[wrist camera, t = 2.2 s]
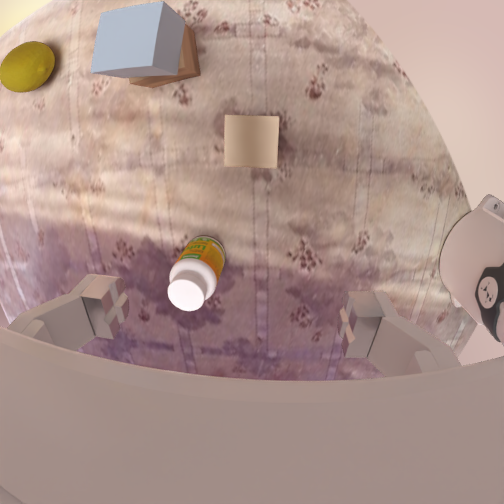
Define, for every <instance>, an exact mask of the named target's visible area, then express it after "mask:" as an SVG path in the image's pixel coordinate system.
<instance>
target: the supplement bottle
mask: <svg viewBox="0 0 504 504" xmlns="http://www.w3.org/2000/svg"><path fill="white" fill-rule="evenodd" d="M225 257H226V256H225V251H224V248H223V247H222V245H221V244H220V243H219V242H218V241H217V240H215V239H213V238H211V237H208V236H200V237H196V238H194V239H193V240H191V241H190V242H189V243H188V245H187V246H186V248H185V249H184V251H183V252H182V254H181V255H180V257H179V258H178V260H177V261H176V263H175V264H174V266H173V268H172V270H171V272H170V285H169V287H168V296H169V299H170V300H171V302H172V303H173V304H174V305H175V306H176V307H178V308H180V309H182V310H186V311H193V310H197V309H198V308H200V307H201V306H202V304H203V302H204V300H206V299H208V298H209V297H210V296H211V295H212V294H213V292H214V290H215V288H216V286H217V283H218V280H219V277H220V274H221V271H222V268H223V266H224V263H225Z"/></svg>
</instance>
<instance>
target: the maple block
mask: <svg viewBox="0 0 504 504" xmlns="http://www.w3.org/2000/svg"><path fill="white" fill-rule="evenodd" d="M278 135H279V117H277V116H254V115H225V134H224V166H227V167H255V168H274V169H277V155H278Z"/></svg>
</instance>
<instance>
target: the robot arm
mask: <svg viewBox="0 0 504 504" xmlns="http://www.w3.org/2000/svg"><path fill="white" fill-rule="evenodd" d="M494 205H495V206H494ZM439 270H440V277H441V280H442V282H443V284H444V286H445V287H446V288H447V289H448V290H449V292H450V293H451V300H452V303H453V304H454V305H455V306H456V307H463V308H464V309H465V310H466V311H467V312H468V313H469V315H470V316H471V317H472V318H473V319H474V320H475V321H476V322H477V323H478V324H479V325H485V326H486V328H487V330H488V331H489V333H490V334H491V335H492V336H493V337H494V338H495V339H496V340H497V341H498V342H501V343H502V344H503V346H504V203H503V202H502V201H500V200H499V199H497V198H496V197H494V196H492V195H490V194H488V195H487V196H486V197H484V199H483V200H482V201H481V203H480V204H479V205H478V207H477V208H476V209H475V210H473V211H471V212H470V213H468V214H467V215H465V216H464V217H463V218H462V219H461V220H460V221H459V222H458V223H457V224H456V225H455V226H454V228H453V229H452V230H451V232H450V234H449V235H448V237H447V239H446V241H445V244H444V246H443V249H442V252H441V257H440V264H439ZM125 288H126V287H125V283H124V280H123V279H122V278H121V277H113V276H105V275H97V274H88V275H87V276H86V277H85V278H84V279H83V280H82V281H81V282H80V283H79V284H78V285H77V286H76V287H75V288H74V289H73V290H72V291H71V292H70V293H69V294H64V295H62V296H60V297H57V298H55V299H53V300H50V301H48V302H46V303H43V304H41V305H39V306H37V307H34V308H32V309H30V310H28V311H25V312H23V313H21V314H20V315H19V316H18V317H17V318H16V319H15V320H14V321H13V322H12V323H11V324H10V325H9V326H8V327H7V328H4V327H1V326H0V504H504V356H503V357H499V358H495V359H491V360H487V361H483V362H478V363H474V364H469V365H465V366H461V364H460V362H459V360H458V358H457V357H456V355H455V353H454V352H453V350H452V348H451V346H449V345H447V344H446V343H444V342H443V341H441V340H440V339H438V338H436V337H435V336H433V335H432V334H430V333H429V332H427V331H425V330H424V329H422V328H421V327H419V326H417V325H416V324H414V323H413V322H411V321H409V320H408V319H406V318H405V317H403V316H399V315H398V313H397V311H396V310H395V308H394V306H393V304H392V302H391V301H390V299H389V297H388V295H387V294H386V292H385V291H345V292H344V295H343V298H342V303H343V306H344V307H343V308H342V309H341V310H340V311H339V316H338V325H337V327H338V333H339V336H340V337H341V338H342V339H343V341H342V344H341V345H342V349H343V353H344V357H345V358H362V357H367V359H368V360H369V361H370V362H371V363H372V364H373V365H374V366H375V367H376V368H377V369H378V370H379V371H380V372H381V373H382V374H383V375H384V376H385V377H382V378H371V379H357V380H336V381H274V380H253V379H238V378H225V377H214V376H205V375H196V374H188V373H180V372H173V371H167V370H161V369H155V368H149V367H143V366H138V365H133V364H128V363H123V362H118V361H114V360H109V359H105V358H100V357H96V356H92V355H88V354H84V353H81V352H77V351H76V350H78V349H79V348H80V347H82V346H83V345H85V344H86V343H88V342H89V341H90V340H92V339H93V338H95V336H97V337H103V338H109V339H114V338H115V336H116V334H117V333H118V331H119V330H120V325H119V324H120V323H122V322H123V321H125V320H126V318H127V316H128V313H129V300H128V297H127V296H126V295H125V294H124V290H125Z"/></svg>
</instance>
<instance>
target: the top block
mask: <svg viewBox="0 0 504 504" xmlns="http://www.w3.org/2000/svg"><path fill="white" fill-rule="evenodd" d="M185 22H186V21H185V20H183V19H182V18H181V17H180V16H179V15H178V14H177V13H176V12H175V11H174V10H173V9H172V8H170V7H169V6H168V5H167V4H166V3H165V2H164V1H162V2H154V3H147V4H141V5H135V6H130V7H125V8H120V9H116V10H111V11H107V12H103V13H101V16H100V21H99V26H98V30H97V36H96V41H95V47H94V53H93V59H92V66H91V73H94V74H101V75H108V76H114V77H120V78H131V77H144V76H163V75H177V73H178V66H179V59H180V52H181V45H182V39H183V33H184V27H185Z"/></svg>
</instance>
